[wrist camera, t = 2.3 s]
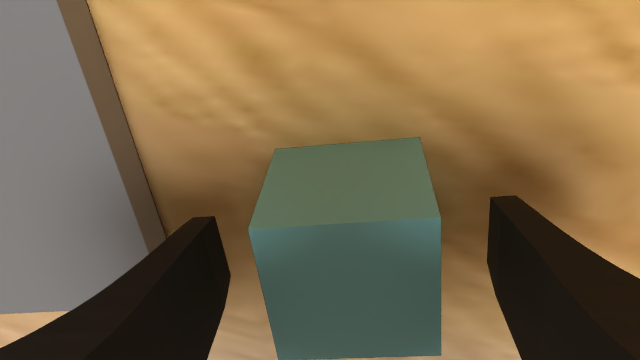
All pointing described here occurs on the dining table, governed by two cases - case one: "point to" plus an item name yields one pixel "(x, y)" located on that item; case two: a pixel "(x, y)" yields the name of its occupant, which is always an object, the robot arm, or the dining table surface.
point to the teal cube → (350, 251)
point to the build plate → (64, 163)
